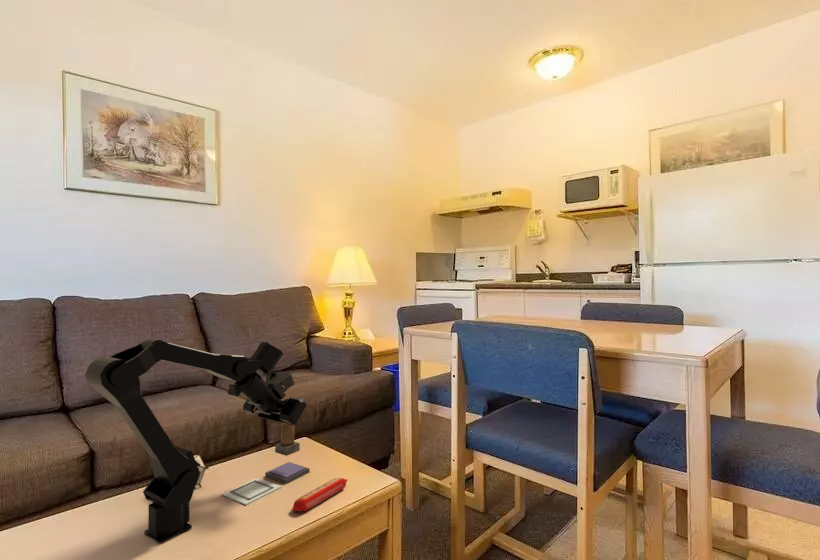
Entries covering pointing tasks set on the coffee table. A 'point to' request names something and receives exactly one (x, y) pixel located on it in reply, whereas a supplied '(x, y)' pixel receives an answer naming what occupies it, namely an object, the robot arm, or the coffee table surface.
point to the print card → (251, 491)
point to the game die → (200, 468)
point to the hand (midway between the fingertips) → (291, 423)
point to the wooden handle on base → (287, 441)
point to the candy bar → (319, 494)
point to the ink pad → (287, 472)
